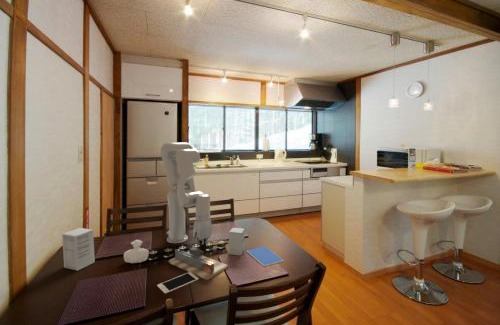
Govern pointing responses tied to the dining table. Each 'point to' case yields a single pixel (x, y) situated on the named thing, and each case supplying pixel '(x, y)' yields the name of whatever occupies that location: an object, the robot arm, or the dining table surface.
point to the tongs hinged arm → (200, 259)
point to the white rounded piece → (136, 253)
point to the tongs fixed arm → (193, 262)
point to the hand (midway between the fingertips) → (203, 250)
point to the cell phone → (177, 282)
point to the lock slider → (194, 251)
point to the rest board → (217, 269)
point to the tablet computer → (264, 256)
